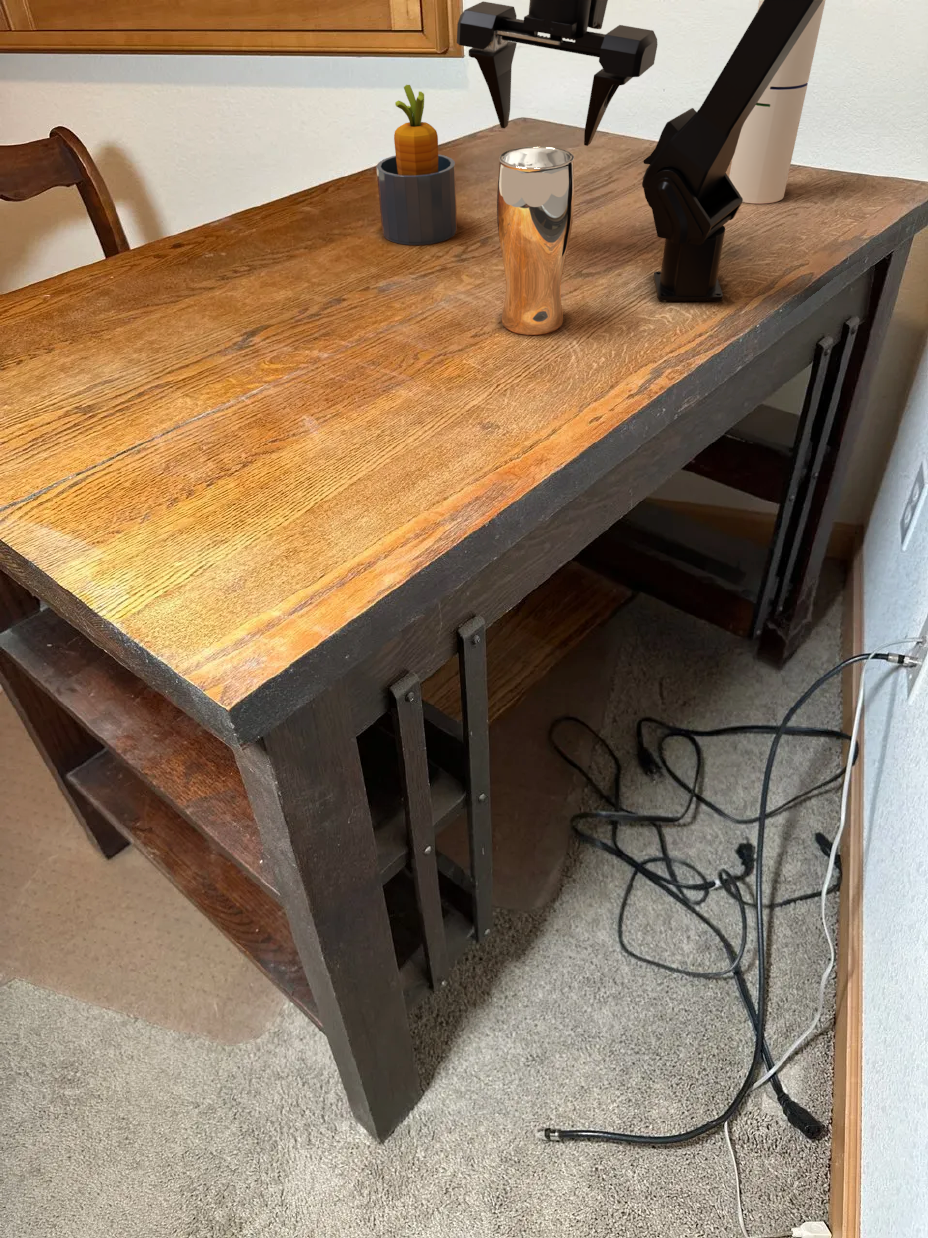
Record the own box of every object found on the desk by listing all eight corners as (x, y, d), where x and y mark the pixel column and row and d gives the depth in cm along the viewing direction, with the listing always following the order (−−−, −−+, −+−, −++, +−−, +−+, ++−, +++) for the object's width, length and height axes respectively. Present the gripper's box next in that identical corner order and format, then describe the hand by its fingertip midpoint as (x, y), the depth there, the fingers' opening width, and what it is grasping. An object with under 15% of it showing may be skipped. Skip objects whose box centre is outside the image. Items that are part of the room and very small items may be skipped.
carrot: (440, 236, 103) (434, 91, 93) (398, 236, 103) (388, 92, 93) (442, 221, 107) (436, 80, 97) (402, 222, 107) (392, 81, 97)
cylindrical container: (785, 204, 109) (839, -46, 92) (726, 202, 110) (769, -46, 93) (782, 186, 114) (832, -55, 97) (726, 184, 115) (766, -54, 98)
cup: (453, 245, 102) (451, 176, 97) (377, 245, 102) (371, 176, 97) (459, 218, 108) (457, 152, 103) (388, 218, 109) (382, 152, 104)
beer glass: (567, 307, 88) (576, 144, 78) (567, 338, 83) (576, 168, 73) (499, 306, 89) (499, 145, 79) (494, 336, 84) (494, 168, 74)
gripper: (688, -52, 81) (653, 131, 93) (505, -79, 86) (493, 98, 97) (656, -33, 74) (622, 163, 86) (458, -63, 79) (451, 126, 90)
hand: (545, 135), depth 90 cm, fingers open, 9 cm apart
